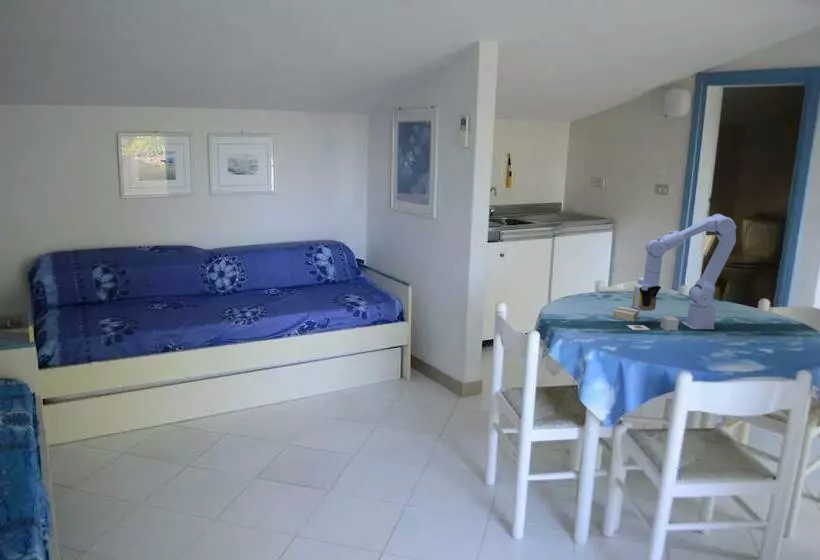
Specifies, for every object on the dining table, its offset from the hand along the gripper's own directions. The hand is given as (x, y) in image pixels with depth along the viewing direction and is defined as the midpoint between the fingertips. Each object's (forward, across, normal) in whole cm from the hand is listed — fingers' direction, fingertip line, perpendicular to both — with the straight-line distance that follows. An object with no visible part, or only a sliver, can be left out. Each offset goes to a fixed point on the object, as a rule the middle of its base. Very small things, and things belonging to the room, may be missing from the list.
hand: (648, 304), depth 258 cm
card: (+8, +8, 0) cm, 11 cm away
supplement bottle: (+8, -20, -9) cm, 24 cm away
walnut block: (+2, 0, 0) cm, 2 cm away
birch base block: (+8, -1, -8) cm, 12 cm away
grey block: (+8, +1, +9) cm, 12 cm away
